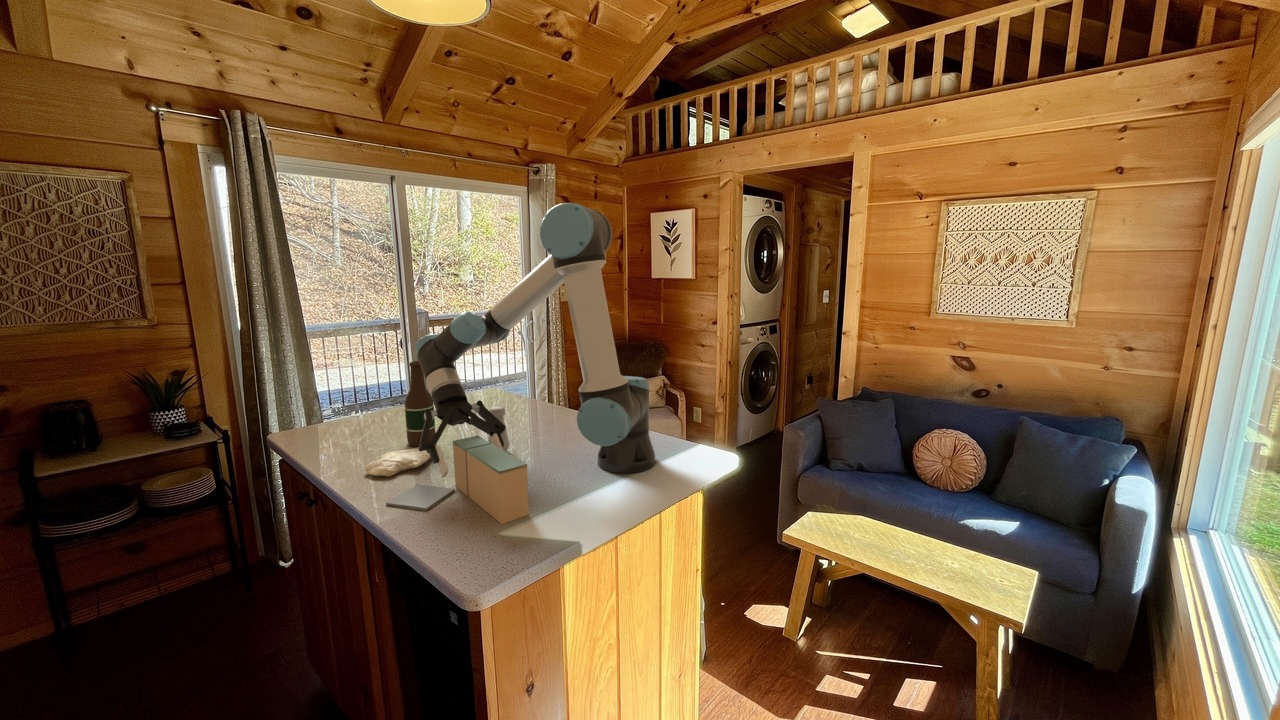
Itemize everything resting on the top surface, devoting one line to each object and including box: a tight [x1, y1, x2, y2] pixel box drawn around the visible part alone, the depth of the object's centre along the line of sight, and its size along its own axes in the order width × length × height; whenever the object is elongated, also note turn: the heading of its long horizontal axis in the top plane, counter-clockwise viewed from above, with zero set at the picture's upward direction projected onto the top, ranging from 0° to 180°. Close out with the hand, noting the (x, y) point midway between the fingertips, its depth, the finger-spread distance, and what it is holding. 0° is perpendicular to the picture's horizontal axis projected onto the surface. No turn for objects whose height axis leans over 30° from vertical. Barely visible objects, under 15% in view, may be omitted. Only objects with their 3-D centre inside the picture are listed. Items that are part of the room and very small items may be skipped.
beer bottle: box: [404, 360, 436, 447], centre depth 147 cm, size 8×8×24 cm
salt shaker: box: [487, 405, 510, 453], centre depth 140 cm, size 6×6×13 cm
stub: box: [452, 435, 491, 497], centre depth 118 cm, size 7×6×11 cm
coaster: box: [385, 483, 456, 512], centre depth 113 cm, size 10×10×1 cm
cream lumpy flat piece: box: [364, 445, 437, 478], centre depth 132 cm, size 4×13×20 cm
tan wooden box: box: [466, 444, 530, 525], centre depth 109 cm, size 16×6×11 cm, turn 41°
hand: (475, 467), depth 116 cm, fingers open, 13 cm apart
